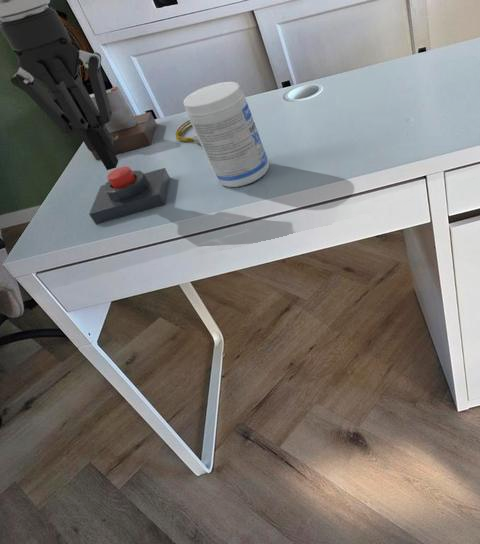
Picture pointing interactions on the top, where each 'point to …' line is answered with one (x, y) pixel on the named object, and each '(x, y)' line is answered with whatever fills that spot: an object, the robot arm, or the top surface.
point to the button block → (131, 196)
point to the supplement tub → (227, 133)
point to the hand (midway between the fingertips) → (112, 165)
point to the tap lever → (117, 111)
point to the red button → (121, 177)
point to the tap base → (133, 135)
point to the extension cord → (194, 139)
